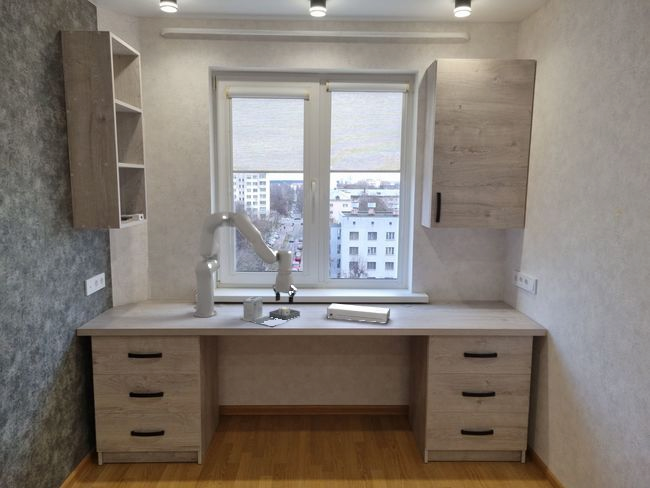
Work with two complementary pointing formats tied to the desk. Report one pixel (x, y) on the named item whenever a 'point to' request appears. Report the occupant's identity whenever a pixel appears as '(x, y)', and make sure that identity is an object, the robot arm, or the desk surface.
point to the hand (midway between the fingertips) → (284, 301)
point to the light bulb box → (252, 308)
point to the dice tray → (284, 317)
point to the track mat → (260, 319)
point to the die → (284, 310)
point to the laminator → (358, 312)
